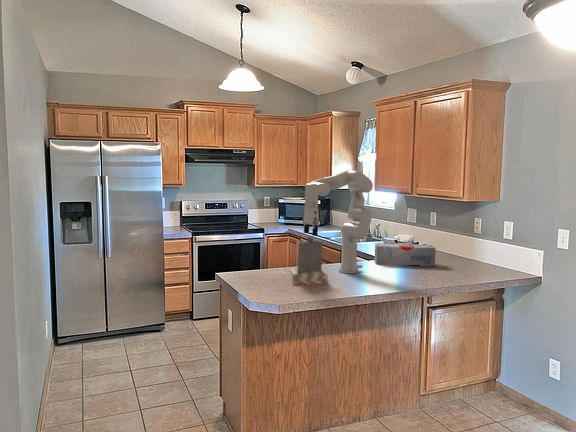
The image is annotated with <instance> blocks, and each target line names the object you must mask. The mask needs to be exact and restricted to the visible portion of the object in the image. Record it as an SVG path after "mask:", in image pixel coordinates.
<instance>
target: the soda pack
mask: <svg viewBox="0 0 576 432" xmlns="http://www.w3.org/2000/svg"><path fill="white" fill-rule="evenodd" d="M436 250H437V248H436V247H435V246H433V245H432V244H415V243H408V244H406V243H377V242H376V243H375V244H374V257H373V258H374V259H373V260H374V261H373V262H374V263H375V264H376V265H378V266H381V265H382V266H383V265H384V266H402V265H422V266H421V267H432V266H435V267H436Z"/></svg>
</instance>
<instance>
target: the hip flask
mask: <svg viewBox="0 0 576 432" xmlns="http://www.w3.org/2000/svg"><path fill="white" fill-rule="evenodd" d="M306 239H307V241H298V247H297V248H298V251H297V268H296V269H297V272H298V273H304V272H314V271H321V269H322V264H323V263H322V262H323V261H322V260H323V240H314V237H312V236H311V237H309V236H308V237H307V238H306Z"/></svg>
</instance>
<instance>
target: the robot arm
mask: <svg viewBox="0 0 576 432" xmlns="http://www.w3.org/2000/svg"><path fill="white" fill-rule="evenodd" d="M304 186H305V187H304V195H305V196H304V214H303V218H302V221H303V222H302V223H303V234H309V233H310V225H311V226H312V236H314V237H315V236H318V234H319V226H320V223H321V222H320V215H319V214H320V212H319V196H321V197H324V196H328V195H330V193H331V191H335V190H339V189H341V188H343V187H345V186H347V187H348V190H349V193H350V195H351V201H350V204H349V209H348V212H347V218H348V220H349V221H351V222H345V223H343V224H342V226H341V229H340V233H341V263H340V265H341V266H340V268H339V269H338V272H339V273H341V274H348V275H349V274H357V273H359V269H362V268H363V265H362V264H357V256H358V251H357V250H358V242H357V240H364V239H366V238H367V236H368V235H369V234H368V233H369V230H370V227H371V223H372V218H373V213H372V210H371V209H370V208H368V207H364V206H365V203H366V201H365V196H364V193H366V194H367V193H370V192H371V191H372V190H373V189H374V188H373V187H374V184H373V182H372V180H371V179H370V178H369V177H368V176H366V174H365V173H363V172H361V171H360V170H349V169H346V170H344V171H343V170H342V172H339V173H336V174H334V175H331V176H327V177H323V178H318V179H316V180H313V181H311V182H310V183H309V182H308V183H305V185H304ZM355 222H356V223H355Z"/></svg>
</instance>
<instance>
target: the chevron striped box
mask: <svg viewBox="0 0 576 432" xmlns="http://www.w3.org/2000/svg"><path fill="white" fill-rule="evenodd" d="M297 269H298V268H290V280H291V283H292V284H293V285H294V284H300V285H301V284H302V285H304V284H305V285H307V284H308V285H309V284H311V285H317V284H318V285H328V277H329V275H328V273H327V271H326V270H325V269H324V268H321V271H314V272H304V273H298V272H297Z"/></svg>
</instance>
